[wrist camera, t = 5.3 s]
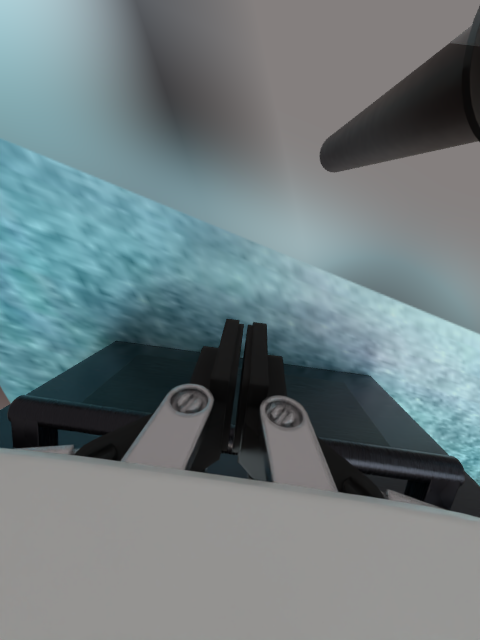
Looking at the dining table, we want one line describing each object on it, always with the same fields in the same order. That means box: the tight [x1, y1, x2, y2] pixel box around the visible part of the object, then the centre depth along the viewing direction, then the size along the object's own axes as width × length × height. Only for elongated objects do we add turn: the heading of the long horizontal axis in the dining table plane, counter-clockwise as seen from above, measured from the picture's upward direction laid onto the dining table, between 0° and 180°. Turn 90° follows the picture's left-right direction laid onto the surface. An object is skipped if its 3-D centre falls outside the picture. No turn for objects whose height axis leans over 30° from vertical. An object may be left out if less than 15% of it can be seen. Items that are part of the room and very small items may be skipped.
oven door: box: [0, 341, 480, 518], centre depth 24 cm, size 5×34×23 cm, turn 84°
